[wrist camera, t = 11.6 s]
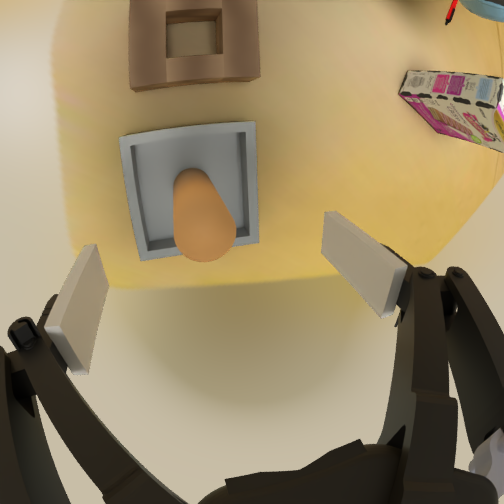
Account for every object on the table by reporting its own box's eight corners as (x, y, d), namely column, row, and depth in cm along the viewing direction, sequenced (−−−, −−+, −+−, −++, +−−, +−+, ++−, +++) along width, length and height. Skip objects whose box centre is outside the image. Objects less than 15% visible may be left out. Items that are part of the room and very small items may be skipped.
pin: (209, 165, 28) (234, 199, 17) (212, 201, 30) (238, 256, 19) (171, 170, 28) (169, 208, 16) (175, 206, 29) (178, 266, 18)
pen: (442, 23, 26) (447, 22, 25) (459, -20, 20) (462, -20, 19) (445, 26, 26) (450, 26, 25) (461, -17, 21) (465, -17, 20)
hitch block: (246, 3, 21) (256, -10, 18) (249, 81, 26) (260, 76, 23) (134, 11, 19) (130, -3, 15) (135, 92, 24) (129, 88, 20)
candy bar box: (396, 95, 30) (496, 108, 16) (406, 69, 29) (502, 74, 15) (437, 135, 35) (521, 161, 21) (445, 111, 33) (528, 131, 19)
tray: (246, 120, 28) (255, 121, 25) (250, 230, 34) (259, 242, 31) (124, 135, 25) (118, 137, 22) (143, 247, 31) (140, 261, 28)
